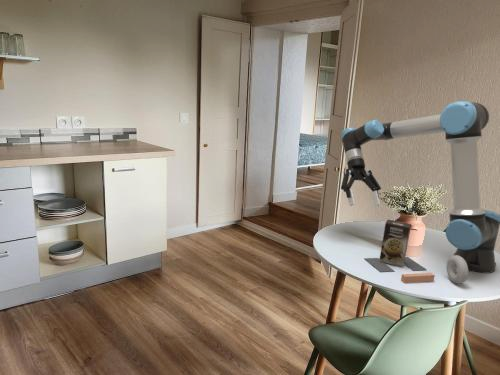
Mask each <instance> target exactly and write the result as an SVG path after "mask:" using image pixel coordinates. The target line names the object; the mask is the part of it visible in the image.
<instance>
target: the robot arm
mask: <svg viewBox="0 0 500 375" xmlns="http://www.w3.org/2000/svg"><path fill="white" fill-rule="evenodd" d="M489 121H490V113H489V110H488V109H487V107H486V106H485V105H483V104H481V103H479V102H473V101H471V102H470V101H466V100H462V101H461V100H460V101H454V102H452V103H450V104H448V105H446V107H445V108H444V109H442V112H441V113H440V114H434V115H428V116H422V117H415V118H410V119H404V120H398V121H391V122H385V123H382V122H381V121H379V120H378V119H373V120H370V121H368V122H366V123H365V124H363V125H362V126H359V127H358V128H356V127H348V128H345V129H343V130H342V131H341V142H342V144H343V149H344V155H345V160H346V164H347V168H346V169H345V170H344V171H343V177H342V182H341V186H340V190H343V192H344V193H345V194H346V198H347V199H348V204H349V206H350V207H352V206H354V205H356V202H355V198H354V193H353V189H351V188H352V186H353V184H354V182H355V181H359V182H360V181H361V182H362V183H364V184H365V185H366V187H367V188H369V189H370V190H371V191H372V192H371V196H372V200H373V205H374V207H378V206H380V205H381V203H380V195H379V191H381V190H382V187H381V186H380V184H379V183H378V181H377V179H376V177H375V176H374V175H373V172H372V170H371V169H369V170H366V164H365V163H366V162H365V160H364V155H363V151H362V150H363V149H362V146H363V145H364V144H366V143H368V142H372V141H390V140H393V139H401V138H409V137H416V136H424V135H433V134H439V133H445V134H444V135H445V141H446V142H447V143H448V144H449V145H450V157H451V159H450V160H451V161H450V162H451V163H450V164H451V180H452V181H451V182H452V198H453V208H452V209H451V210H450V211H449V223H448V224H447V226H446V228H445V238H446V239H447V241H448V242H449V243H450V244H451V245H452V246H453V247H454V248H456V250H455V252H454V254H453V256H454V255H458V256H461V257H462V258H463V259H464V260H465V261H466V263H467V266H468V269H469V270H468V271H472V270H473V271H472V272H476V271H479V272H478V273H483V272H490V273H492V272H491V271H494V270H495V271H496V266H497V262H496V259H495V258H496V257H495V248H496V244H497V243H496V242H497V238H498V233H499V229H500V214H499V213H498V212H495V211H491V210H487V209H483V208H481V204H480V203H481V202H480V201H481V200H480V199H481V198H480V180H479V157H478V142H479V140H481V138H482V130H483V129H485V128H486V126H487V125H488V123H489ZM349 177H350V178H349ZM495 271H494V272H495Z"/></svg>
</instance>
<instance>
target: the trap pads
mask: <svg viewBox="0 0 500 375" xmlns="http://www.w3.org/2000/svg"><path fill="white" fill-rule="evenodd" d="M379 259H380V258H378V257H367V258H366V257H365V258H364V260H365V261H366V262H367V263H368V264H369V265H370V266H372V267H373V268H374V269H375V270H376V271H378V272H379V273H392V272H393V273H394V272H396V271H395V270H394V269H393V268H391V267H390V266H389V264H387V263H385V262H381V261H379ZM404 265H405V266H406V267H407V268H408V269H410V270H411V271H413V272H415V271H417V272H418V271H419V272H420V271H427V270H428V269H427V268H426V267H424V266H422V265H421V264H419V262H416V261H415V260H413V259H412V258H410V257H409V256H405V262H404ZM404 265H403V266H404Z"/></svg>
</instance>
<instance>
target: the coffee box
mask: <svg viewBox="0 0 500 375" xmlns="http://www.w3.org/2000/svg"><path fill="white" fill-rule="evenodd" d="M411 228H412V223H407V222H402V221H398V220H393V219H387V220H386V222H385V226H384V229H383V230H384V231H383V236H382V242H381V247H380V253H379V254H380V255H379V258H378V259H379V261H381V262H384V263H385V264H388V265H393V266H396V267H402V268H403V267H404V262H405V257H407V256H406V255H407V250H408V244H409V239H410V234H411Z"/></svg>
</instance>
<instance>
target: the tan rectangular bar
mask: <svg viewBox="0 0 500 375" xmlns="http://www.w3.org/2000/svg"><path fill="white" fill-rule="evenodd" d="M400 281H401V282H402V283H403V284H414V283H416V284H417V283H431V282H432V283H433V282H434V281H435V274H434V273H432V272H424V273H423V272H422V273H421V272H419V273H418V272H417V273H402V274H401V278H400Z"/></svg>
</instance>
